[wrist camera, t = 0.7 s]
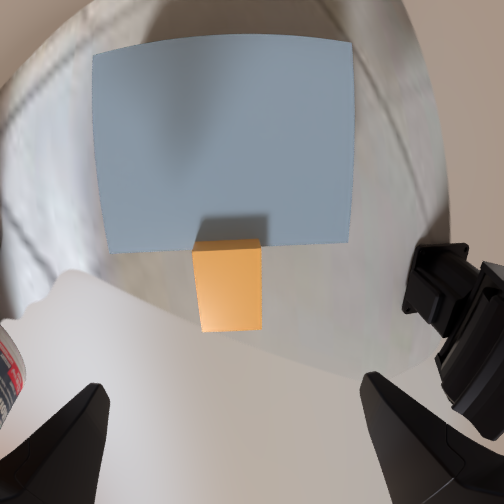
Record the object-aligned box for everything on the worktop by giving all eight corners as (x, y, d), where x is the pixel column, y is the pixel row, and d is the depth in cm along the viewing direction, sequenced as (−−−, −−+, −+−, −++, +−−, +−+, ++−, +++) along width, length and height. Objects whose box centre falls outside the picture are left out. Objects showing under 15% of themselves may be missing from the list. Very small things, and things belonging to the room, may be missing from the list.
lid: (338, 51, 12) (362, 36, 9) (330, 292, 17) (345, 321, 15) (107, 62, 11) (81, 50, 9) (134, 302, 17) (120, 331, 14)
